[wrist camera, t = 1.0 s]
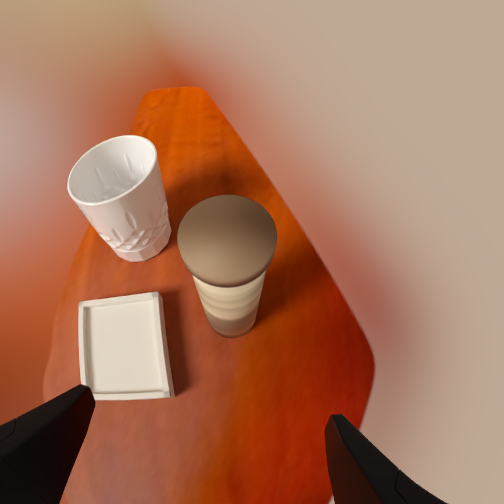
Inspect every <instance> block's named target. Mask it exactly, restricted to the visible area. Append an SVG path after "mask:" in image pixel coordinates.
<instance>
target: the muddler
mask: <svg viewBox="0 0 504 504" xmlns="http://www.w3.org/2000/svg"><path fill="white" fill-rule="evenodd" d="M177 241H178V247H179V250H180V253H181V256H182V259H183V261H184V263H185V265H186V267H187V269H188V270H189V271H190V272H191V273H192V276H193V279H194V282H195V284H196V287H197V290H198V293H199V296H200V299H201V302H202V304H203V307H204V310H205V313H206V316H207V318H208V321H209V324H210V326H211V327H212V329H213V330H214V331H215V332H216V333H217V334H219V335H221V336H223V337H226V338H237V337H241V336H243V335H245V334H246V333H248V332H249V331H250V330H251V328H252V327H253V325H254V323H255V319H256V314H257V310H258V305H259V301H260V296H261V291H262V287H263V282H264V277H265V273H266V269H267V268H268V266H269V265H270V263H271V261H272V258H273V254H274V250H275V246H276V241H277V231H276V226H275V223H274V221H273V219H272V217H271V216H270V214H269V213H268V212H267V211H266V210H265V209H264V208H263V207H262V206H261V205H260V204H258V203H257V202H255V201H253V200H251V199H248V198H245V197H242V196H237V195H219V196H214V197H211V198H208V199H205V200H203V201H201V202H199V203H198V204H196V205H195V206H193V207H192V208H191V209H190V210H189V211H188V212H187V213H186V214H185V216H184V217H183V219H182V221H181V223H180V225H179V229H178V234H177Z"/></svg>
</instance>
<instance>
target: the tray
mask: <svg viewBox="0 0 504 504" xmlns="http://www.w3.org/2000/svg"><path fill="white" fill-rule="evenodd" d="M79 359H80V375H81V384H83V385H86V386H89V387H90V388H91V391H92V393H93V396H94V399H95V400H143V399H159V398H172V397H175V394H174V388H173V382H172V375H171V368H170V361H169V354H168V346H167V338H166V329H165V319H164V308H163V298H162V297H161V296H160V294H159V293H158V291H157V292H150V293H143V294H136V295H129V296H121V297H114V298H106V299H98V300H90V301H82V302H79Z"/></svg>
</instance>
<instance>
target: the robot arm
mask: <svg viewBox="0 0 504 504" xmlns="http://www.w3.org/2000/svg"><path fill="white" fill-rule="evenodd" d="M94 408H95V399H94V396H93V393H92V391H91V388H90V387H89V386H86V385H83V384H80V385H78V386H76V387H74V388H72V389H70V390H68V391H67V392H65V393H63V394H61V395H59V396H57V397H55V398H53V399H52V400H50V401H48V402H46V403H44V404H42V405H40V406H38V407H36V408H35V409H33V410H31V411H29V412H27V413H25V414H23V415H21V416H19V417H17V419H16V418H15V419H13V420H11V421H9V422H7V423H5V424H3V425H0V504H59V503H60V500H61V497H62V494H63V492H64V489H65V486H66V484H67V481H68V478H69V476H70V473H71V471H72V468H73V466H74V463H75V461H76V458H77V456H78V453H79V451H80V448H81V446H82V444H83V441H84V439H85V437H86V434H87V431H88V427H89V424H90V421H91V417H92V414H93V411H94ZM325 442H326V455H327V466H328V472H329V477H330V481H331V486H332V491H333V496H334V501H335V504H447V503H445V502H444V501H442V500H440V499H438V498H437V497H435V496H434V495H433V494H431V493H429V492H428V491H426V490H425V489H423V488H422V487H421V486H419V485H418V484H416V483H415V482H414V481H413V480H411V479H410V478H409V477H408V476H407V475H405V474H404V473H403V472H402V471H401V470H399V469H398V468H397V466H395V465H394V464H393V463H392V462H391V461H390V460H389V459H388V458H387V457H386V456H385V455H383V454H382V453H381V452H380V451H379V450H378V449H377V448H376V447H375V446H374V445H373V444H372V443H371V442H370V441H369V440H368V439H367V438H366V437H365V436H364V435H363V434H362V433H361V432H360V431H359V430H358V429H357V428H356V427H355V426H354V425H353V424H352V423H351V422H350V421H349V420H348V419H347V418H346V417H345V416H343V415H342V414H333V415H331V416H330V418H329V420H328V423H327V425H326V428H325Z"/></svg>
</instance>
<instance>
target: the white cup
mask: <svg viewBox="0 0 504 504" xmlns="http://www.w3.org/2000/svg"><path fill="white" fill-rule="evenodd" d="M67 186H68V192H69V194H70V196H71V197H72V199H73V200H74V202H75V203H76V204H77V206H78V207H79V208H80V210H81V211H82V213H83V214H84V215H85V217H86V218H87V219H88V221H89V222H90V223H91V225H92V226H93V227H94V228H95V230H96V231H97V232H98V233H99V234H100V236H101V237H102V238H103V239H104V240H105V241H106V242H107V243H108V244H109V245H110V246H111V247H112V248H113V250H114V251H115V252H116V254H117V255H118V256H119V257H121V258H123V259H125V260H128V261H130V262H137V261H146V260H148V259H150V258H152V257H154V256H156V255H158V254H159V253H160V251H161V250H162V249H163V248H164V247H165V246H166V245H167V243H168V240H169V237H170V234H171V225H170V220H169V216H168V206H167V201H166V195H165V191H164V186H163V181H162V177H161V172H160V167H159V162H158V156H157V151H156V148H155V146H154V145H153V143H152V142H151V141H149V140H148V139H146V138H144V137H140V136H135V135H126V136H119V137H115V138H111V139H109V140H106V141H104V142H102V143H100V144H98V145H96V146H94V147H93V148H92V149H90V150H89V151H87V152H86V153H85V154H84V155H83V156H82V157H81V158H80V159H79V160H78V161H77V163H76V164H75V165H74V167H73V169H72V170H71V172H70V175H69V178H68V185H67Z"/></svg>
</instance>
